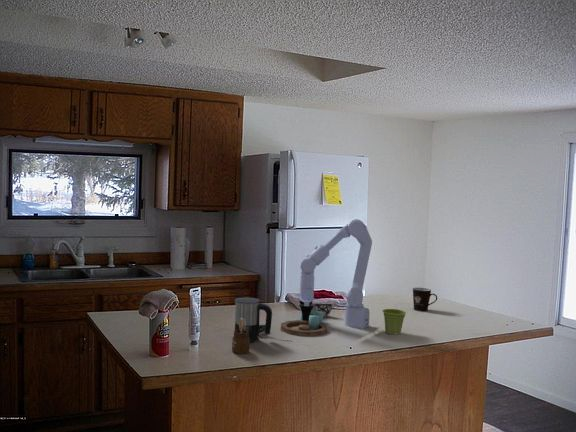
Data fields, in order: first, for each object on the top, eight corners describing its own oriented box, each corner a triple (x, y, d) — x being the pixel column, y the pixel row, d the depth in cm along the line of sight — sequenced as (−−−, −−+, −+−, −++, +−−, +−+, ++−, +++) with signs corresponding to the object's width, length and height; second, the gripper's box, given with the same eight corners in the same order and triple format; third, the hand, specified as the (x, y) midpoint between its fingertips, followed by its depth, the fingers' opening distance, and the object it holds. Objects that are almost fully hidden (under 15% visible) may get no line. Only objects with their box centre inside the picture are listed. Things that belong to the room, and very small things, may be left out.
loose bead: (324, 324, 254) (324, 312, 253) (319, 325, 250) (320, 313, 250) (315, 322, 256) (316, 310, 255) (311, 324, 252) (311, 312, 252)
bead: (311, 323, 254) (312, 311, 253) (307, 325, 250) (307, 313, 250) (303, 321, 256) (303, 310, 255) (298, 323, 252) (299, 311, 252)
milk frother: (235, 343, 218) (237, 302, 217) (227, 332, 233) (229, 293, 232) (273, 342, 222) (275, 302, 221) (264, 331, 237) (265, 293, 236)
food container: (297, 317, 266) (313, 318, 258) (297, 302, 266) (314, 303, 259) (316, 316, 274) (333, 317, 267) (317, 302, 275) (333, 303, 268)
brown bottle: (249, 349, 211) (251, 315, 211) (248, 354, 205) (250, 319, 204) (232, 348, 211) (233, 314, 210) (231, 354, 205) (232, 318, 204)
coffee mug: (407, 308, 293) (409, 287, 293) (422, 307, 297) (423, 287, 296) (422, 313, 283) (424, 292, 282) (437, 312, 286) (439, 291, 286)
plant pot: (408, 332, 246) (409, 311, 246) (400, 337, 238) (401, 315, 238) (386, 328, 251) (387, 307, 251) (377, 333, 243) (379, 311, 242)
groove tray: (334, 331, 242) (335, 325, 242) (313, 341, 226) (313, 334, 226) (295, 324, 251) (295, 318, 251) (271, 332, 235) (272, 326, 235)
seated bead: (320, 328, 241) (321, 316, 241) (315, 330, 238) (316, 317, 238) (311, 326, 243) (312, 314, 243) (306, 328, 240) (307, 316, 240)
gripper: (297, 283, 259) (295, 315, 260) (297, 290, 245) (295, 323, 246) (313, 284, 259) (312, 316, 260) (315, 291, 245) (313, 324, 246)
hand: (305, 319), depth 253 cm, fingers open, 7 cm apart
